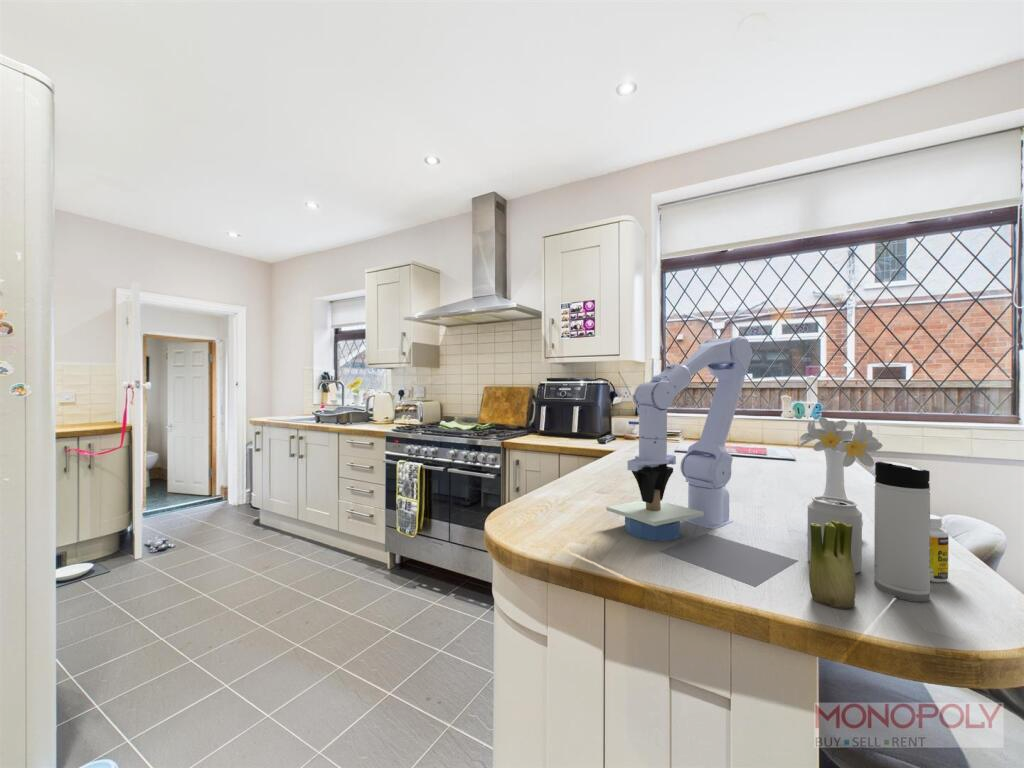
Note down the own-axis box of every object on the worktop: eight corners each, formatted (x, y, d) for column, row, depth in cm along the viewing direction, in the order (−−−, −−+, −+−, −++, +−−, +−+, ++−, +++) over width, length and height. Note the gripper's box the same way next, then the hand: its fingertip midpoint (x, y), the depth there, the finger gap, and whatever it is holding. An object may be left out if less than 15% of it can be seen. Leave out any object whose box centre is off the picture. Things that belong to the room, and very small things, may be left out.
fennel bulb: (810, 607, 60) (810, 523, 60) (804, 592, 64) (805, 514, 64) (861, 617, 57) (862, 530, 57) (852, 601, 61) (852, 520, 61)
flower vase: (837, 551, 80) (838, 421, 80) (782, 520, 99) (782, 415, 99) (909, 553, 79) (909, 422, 79) (840, 522, 98) (840, 416, 98)
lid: (652, 502, 98) (651, 481, 99) (703, 515, 86) (702, 492, 86) (606, 510, 92) (605, 488, 92) (654, 526, 80) (653, 500, 80)
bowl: (645, 522, 97) (646, 506, 97) (690, 536, 88) (690, 518, 88) (615, 531, 90) (615, 514, 90) (659, 547, 82) (659, 528, 82)
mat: (706, 535, 88) (706, 533, 88) (798, 562, 75) (798, 560, 75) (659, 553, 78) (659, 551, 78) (755, 589, 64) (755, 586, 64)
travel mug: (861, 583, 67) (862, 459, 67) (899, 582, 67) (899, 459, 68) (901, 603, 61) (901, 466, 61) (942, 602, 61) (942, 466, 61)
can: (870, 581, 68) (870, 507, 68) (815, 573, 70) (815, 502, 70) (850, 563, 75) (851, 496, 75) (801, 557, 77) (802, 492, 77)
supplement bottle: (943, 587, 66) (943, 522, 66) (897, 573, 71) (897, 513, 71) (952, 578, 69) (952, 517, 69) (907, 566, 74) (907, 508, 74)
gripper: (656, 433, 97) (656, 492, 97) (615, 437, 88) (615, 501, 88) (684, 437, 91) (684, 498, 91) (644, 441, 83) (643, 509, 83)
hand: (652, 500), depth 89 cm, fingers closed on lid, 3 cm apart
